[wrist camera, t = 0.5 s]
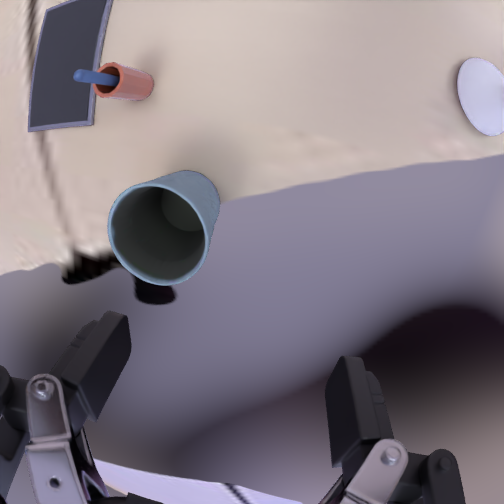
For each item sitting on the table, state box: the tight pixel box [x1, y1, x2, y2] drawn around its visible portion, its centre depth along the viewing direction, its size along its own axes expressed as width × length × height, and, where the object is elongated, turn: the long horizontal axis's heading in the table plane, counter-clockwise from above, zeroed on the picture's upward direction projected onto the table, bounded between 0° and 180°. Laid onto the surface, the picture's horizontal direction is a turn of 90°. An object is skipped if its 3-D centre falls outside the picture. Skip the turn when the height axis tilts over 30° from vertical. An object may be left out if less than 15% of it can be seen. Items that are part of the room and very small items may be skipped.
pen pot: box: [93, 62, 154, 101], centre depth 26 cm, size 4×4×8 cm
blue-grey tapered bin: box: [108, 170, 220, 285], centre depth 31 cm, size 10×10×12 cm
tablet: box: [28, 0, 113, 132], centre depth 27 cm, size 22×14×1 cm, turn 173°
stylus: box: [73, 69, 120, 87], centre depth 23 cm, size 1×1×13 cm
